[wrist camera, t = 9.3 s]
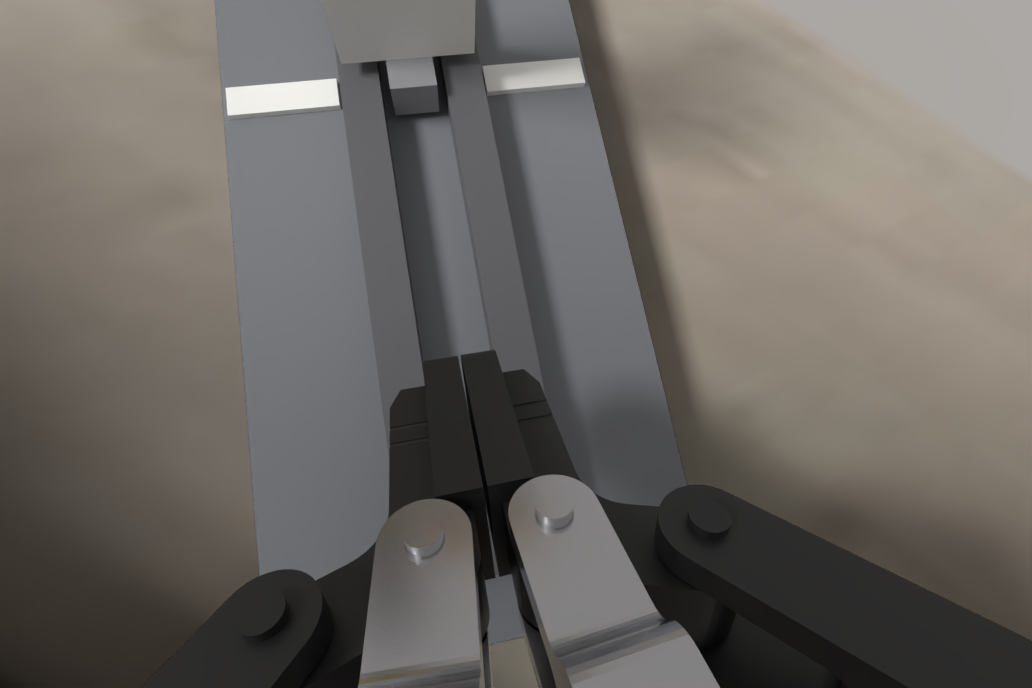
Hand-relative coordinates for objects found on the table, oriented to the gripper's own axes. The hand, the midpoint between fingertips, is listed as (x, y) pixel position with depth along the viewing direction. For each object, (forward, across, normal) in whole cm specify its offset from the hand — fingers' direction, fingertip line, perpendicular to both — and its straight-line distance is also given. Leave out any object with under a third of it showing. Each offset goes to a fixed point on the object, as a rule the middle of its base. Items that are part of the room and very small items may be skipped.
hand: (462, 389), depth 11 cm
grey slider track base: (+8, 0, 0) cm, 8 cm away
